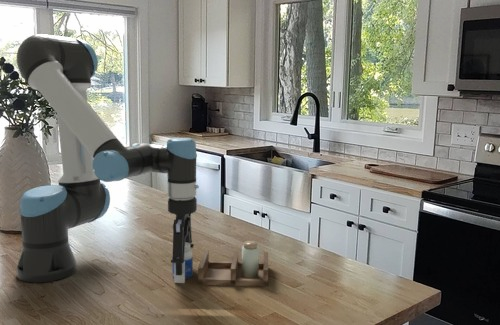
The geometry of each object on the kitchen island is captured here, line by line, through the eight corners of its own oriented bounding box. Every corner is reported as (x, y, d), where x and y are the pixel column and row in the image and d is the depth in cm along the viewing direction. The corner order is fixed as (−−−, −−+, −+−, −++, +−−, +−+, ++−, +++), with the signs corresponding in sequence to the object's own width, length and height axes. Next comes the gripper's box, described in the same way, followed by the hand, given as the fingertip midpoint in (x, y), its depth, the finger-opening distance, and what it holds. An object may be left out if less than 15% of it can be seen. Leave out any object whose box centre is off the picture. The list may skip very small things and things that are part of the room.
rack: (197, 288, 125) (197, 268, 124) (204, 269, 138) (204, 250, 137) (267, 290, 124) (268, 269, 123) (267, 271, 137) (268, 252, 136)
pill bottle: (173, 283, 128) (173, 248, 126) (171, 276, 133) (170, 241, 131) (194, 281, 129) (194, 246, 127) (191, 274, 134) (191, 240, 133)
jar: (241, 278, 128) (241, 245, 127) (241, 272, 133) (242, 240, 131) (258, 279, 128) (259, 246, 127) (258, 272, 133) (259, 240, 131)
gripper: (189, 207, 116) (190, 295, 120) (201, 188, 138) (202, 263, 142) (158, 207, 116) (160, 295, 120) (175, 188, 138) (176, 263, 142)
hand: (182, 278), depth 131 cm, fingers open, 9 cm apart
